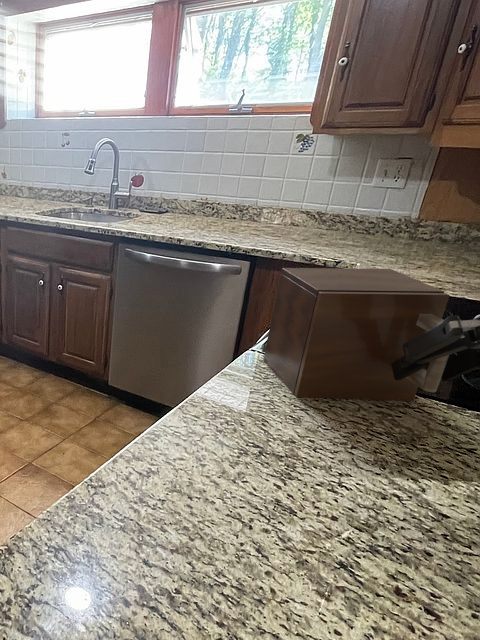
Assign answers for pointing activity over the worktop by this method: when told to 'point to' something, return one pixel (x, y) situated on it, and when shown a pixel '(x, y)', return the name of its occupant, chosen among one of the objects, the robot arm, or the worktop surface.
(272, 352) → the cupboard
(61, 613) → the worktop surface
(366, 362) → the door
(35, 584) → the worktop surface
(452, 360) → the robot arm
